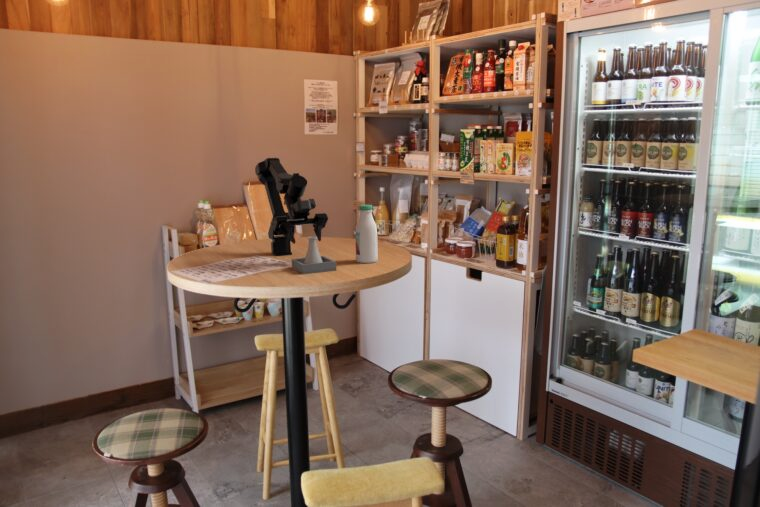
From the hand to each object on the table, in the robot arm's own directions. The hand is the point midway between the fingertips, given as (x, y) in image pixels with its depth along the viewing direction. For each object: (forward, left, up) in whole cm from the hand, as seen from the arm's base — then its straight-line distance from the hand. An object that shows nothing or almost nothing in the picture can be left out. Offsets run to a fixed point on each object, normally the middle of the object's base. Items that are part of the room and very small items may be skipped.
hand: (307, 241), depth 207 cm
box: (0, +5, -9) cm, 10 cm away
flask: (0, +5, -8) cm, 9 cm away
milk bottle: (-21, +2, -9) cm, 23 cm away
